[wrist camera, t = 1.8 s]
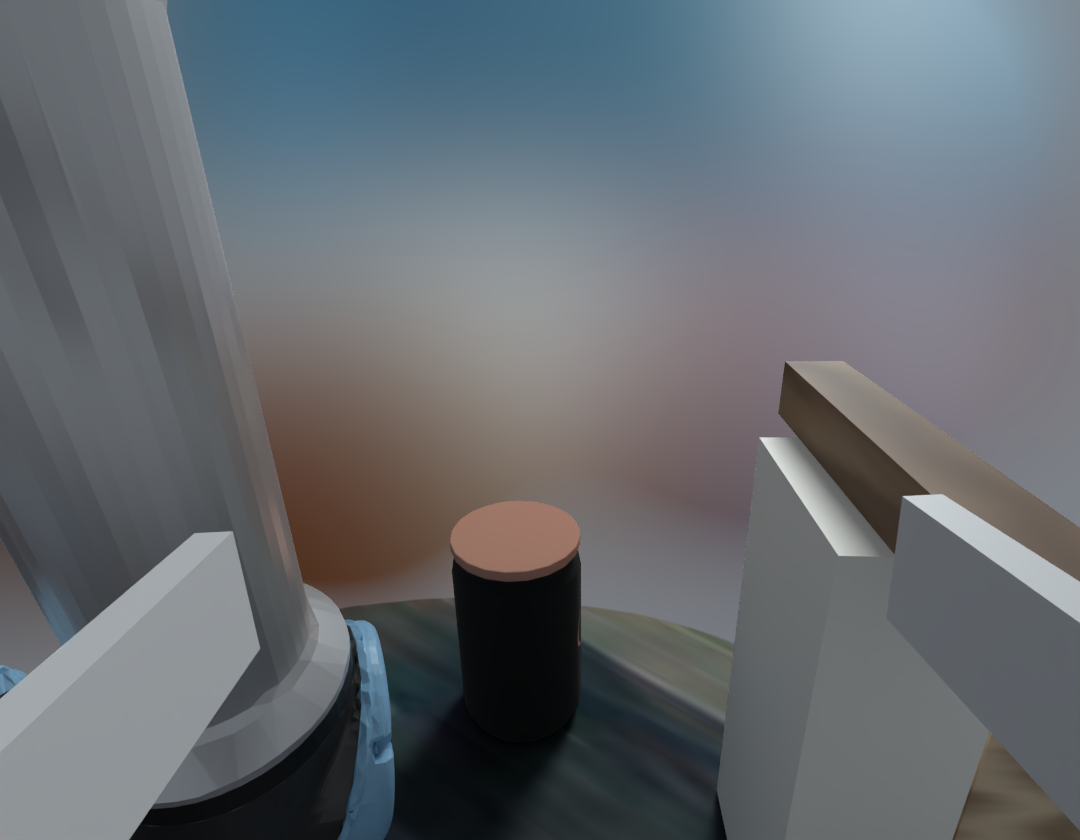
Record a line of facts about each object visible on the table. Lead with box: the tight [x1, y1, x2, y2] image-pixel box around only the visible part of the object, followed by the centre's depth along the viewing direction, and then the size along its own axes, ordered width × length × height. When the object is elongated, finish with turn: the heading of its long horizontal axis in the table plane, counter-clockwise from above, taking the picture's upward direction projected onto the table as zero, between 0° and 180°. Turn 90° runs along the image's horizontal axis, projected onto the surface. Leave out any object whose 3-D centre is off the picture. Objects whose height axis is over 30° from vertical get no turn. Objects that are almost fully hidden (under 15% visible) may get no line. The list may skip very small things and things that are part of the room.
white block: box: [717, 438, 990, 840], centre depth 35 cm, size 8×12×30 cm, turn 176°
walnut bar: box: [779, 361, 1080, 582], centre depth 26 cm, size 4×26×4 cm, turn 176°
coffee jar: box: [450, 501, 581, 743], centre depth 52 cm, size 11×11×18 cm
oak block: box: [952, 732, 1080, 840], centre depth 37 cm, size 8×12×20 cm, turn 176°
